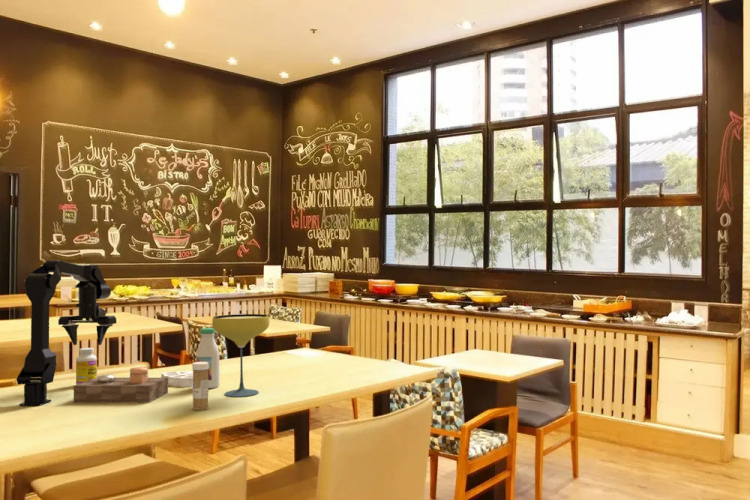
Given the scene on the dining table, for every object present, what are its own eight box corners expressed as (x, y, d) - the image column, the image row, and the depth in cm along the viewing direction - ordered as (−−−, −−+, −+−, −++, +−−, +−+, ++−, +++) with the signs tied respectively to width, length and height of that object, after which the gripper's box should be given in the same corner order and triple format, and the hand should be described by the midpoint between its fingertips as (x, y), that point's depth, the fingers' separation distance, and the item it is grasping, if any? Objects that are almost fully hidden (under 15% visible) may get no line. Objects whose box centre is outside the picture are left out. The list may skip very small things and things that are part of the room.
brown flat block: (149, 402, 187) (149, 386, 188) (73, 402, 189) (73, 386, 189) (167, 392, 201) (167, 377, 202) (97, 392, 203) (97, 377, 203)
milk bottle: (210, 383, 216) (210, 326, 217) (224, 386, 211) (223, 328, 212) (191, 387, 210) (191, 328, 211) (205, 390, 205) (204, 330, 206)
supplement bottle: (88, 387, 213) (88, 350, 213) (71, 386, 214) (71, 349, 215) (100, 383, 219) (100, 347, 220) (84, 383, 221) (84, 347, 221)
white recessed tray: (214, 383, 219) (176, 390, 208) (188, 377, 231) (151, 383, 220) (214, 374, 219) (176, 380, 208) (188, 368, 231) (151, 374, 220)
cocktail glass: (210, 390, 204) (209, 315, 205) (264, 386, 210) (263, 313, 211) (216, 401, 187) (215, 319, 188) (275, 396, 193) (274, 317, 194)
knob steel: (109, 394, 193) (109, 377, 193) (93, 394, 193) (93, 377, 193) (117, 391, 198) (117, 374, 198) (101, 391, 198) (101, 374, 199)
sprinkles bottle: (189, 409, 178) (189, 362, 178) (203, 406, 181) (202, 360, 182) (198, 411, 175) (198, 364, 175) (212, 408, 178) (211, 362, 179)
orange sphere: (143, 387, 192) (143, 369, 192) (127, 387, 193) (127, 369, 193) (150, 383, 197) (150, 367, 198) (134, 383, 198) (134, 367, 198)
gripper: (124, 299, 223) (124, 342, 222) (76, 299, 225) (76, 342, 224) (107, 300, 212) (107, 346, 211) (57, 301, 214) (57, 346, 213)
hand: (87, 345), depth 215 cm, fingers open, 9 cm apart
